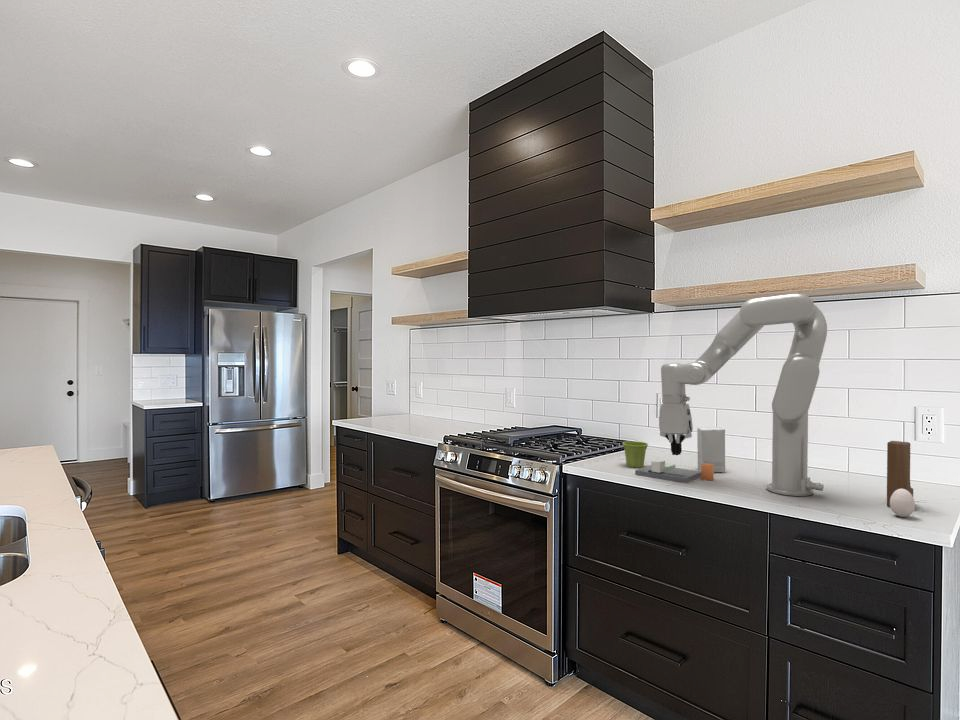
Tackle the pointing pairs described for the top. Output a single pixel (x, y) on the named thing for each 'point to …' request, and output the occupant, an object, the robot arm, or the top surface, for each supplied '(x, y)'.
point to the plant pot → (635, 453)
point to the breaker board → (670, 474)
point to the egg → (902, 503)
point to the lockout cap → (707, 471)
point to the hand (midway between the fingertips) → (676, 454)
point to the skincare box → (711, 447)
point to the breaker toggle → (658, 466)
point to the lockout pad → (669, 466)
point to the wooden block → (898, 468)
